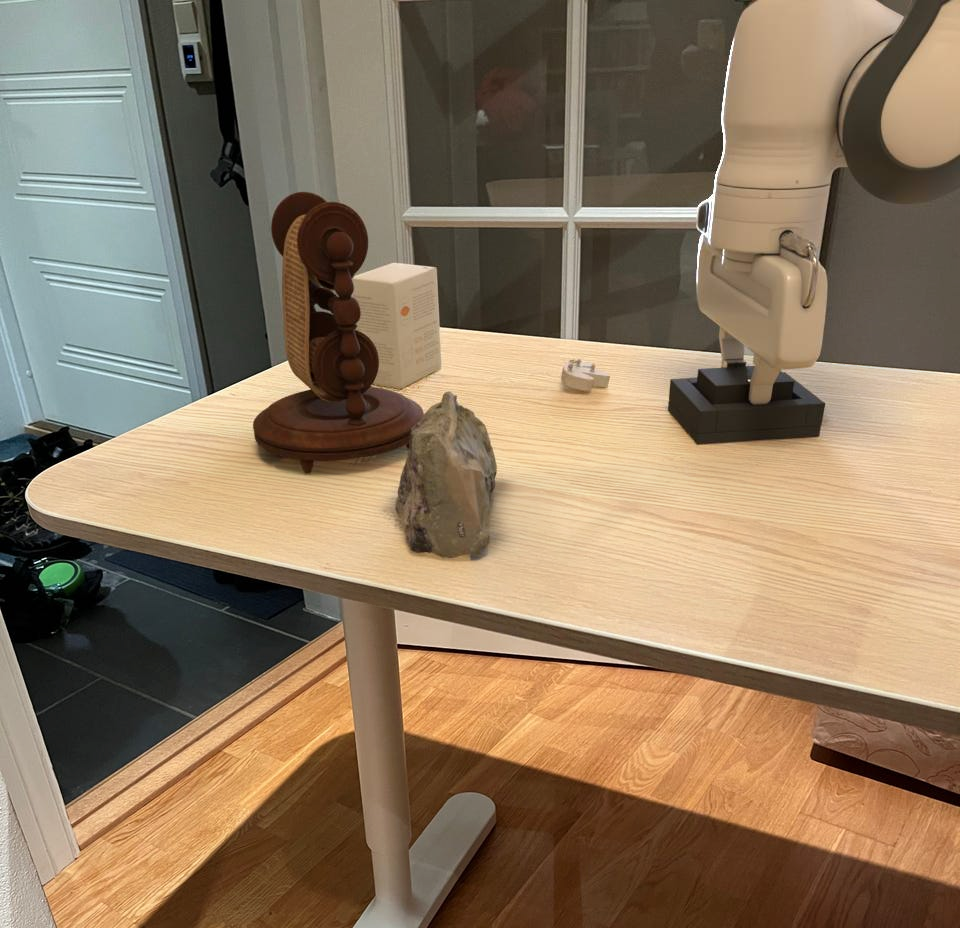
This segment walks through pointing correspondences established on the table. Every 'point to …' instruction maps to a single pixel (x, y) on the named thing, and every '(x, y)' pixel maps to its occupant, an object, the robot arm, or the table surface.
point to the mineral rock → (447, 482)
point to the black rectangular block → (737, 385)
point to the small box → (400, 321)
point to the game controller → (581, 375)
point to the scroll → (328, 344)
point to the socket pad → (744, 415)
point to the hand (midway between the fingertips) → (743, 390)
